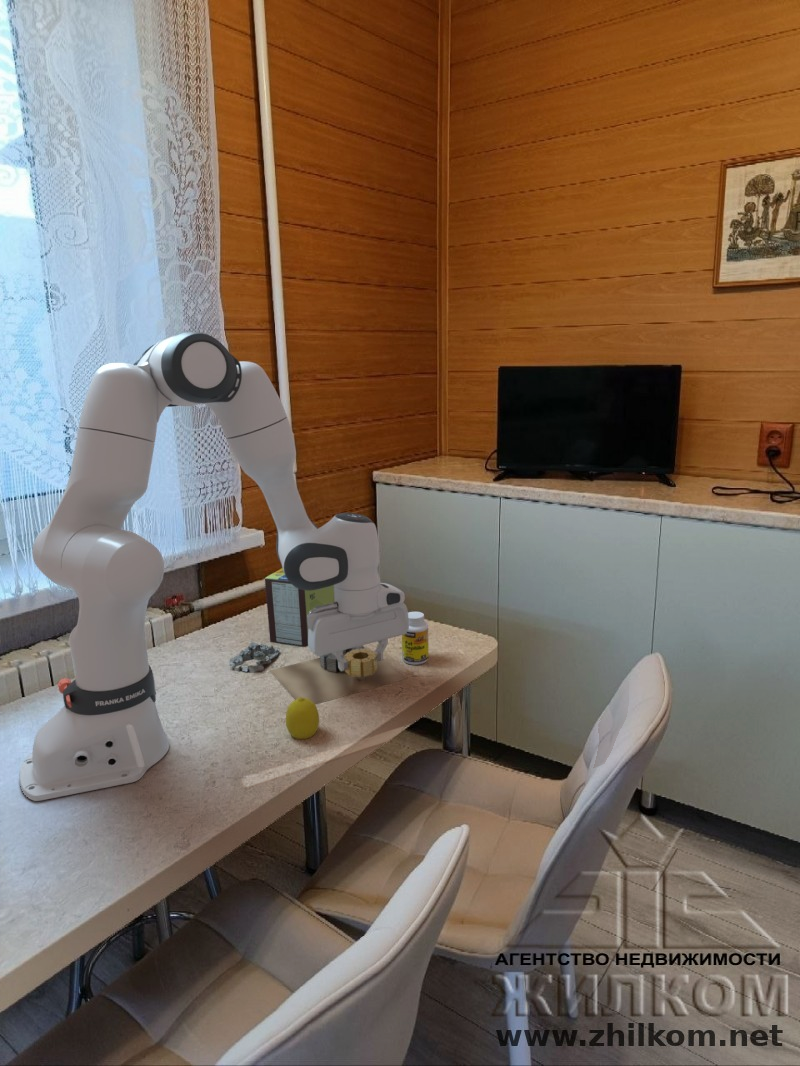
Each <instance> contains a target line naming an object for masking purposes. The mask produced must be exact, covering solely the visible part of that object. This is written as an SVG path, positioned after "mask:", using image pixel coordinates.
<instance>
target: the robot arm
mask: <svg viewBox="0 0 800 1066" xmlns="http://www.w3.org/2000/svg"><path fill="white" fill-rule="evenodd" d="M282 403H283V402H282V401H281V399H280V397H279V395H278V392H277V391H276V388H275V386H274V385H273V383H272V381H271V379H270V377H269V376H268V375H267V373H266V371H265V370H264V369H263V367H261V366H260V365H259V364H257V363H255V362H252V361H246V360H245V361H244V360H243V361H239V360H238V358H236V357H235V356H234V355H232V354H231V353H230V352H229V350H228V349H227V348H226V347H225V345H223V344H222V342H221V341H219V340H218V339H217V338H215V337H214V336H212V335H209V334H207V333H204V332H199V331H185V332H182V333H179V334H174V335H170V336H168V337H165V338H163V339H161V340H159V341H158V342H156V343H154V344H153V345H151V346H149V347H148V348H147V349H146V350H145V351H143V353H142V354H141V355H140V356H139V358H138V359H137V360H136V361H135V362H134V363H133V364H131V363H127V362H111V363H107V364H104V365H102V366H100V367H99V368H98V369H97V370H95V373H94V374H93V376H92V379H91V381H90V384H89V386H88V389H87V392H86V395H85V397H84V401H83V406H82V409H81V412H80V418H79V421H78V429H77V435H76V438H75V439H76V441H75V446H74V452H73V457H72V461H71V462H72V463H71V468H70V473H69V476H68V480H67V484H66V487H65V489H64V492H63V494H62V496H61V499H60V502H59V503H58V506H57V508H56V510H55V511H54V514H53V516H52V518H51V519H50V521H49V523H48V524H47V525H46V526H45V527H44V528H42V529H41V531H40V532H39V533H38V534H37V535H36V537H35V539H34V540H33V541H34V542H33V545H32V558H33V561H34V564H35V566H36V567H37V569H39V571H40V572H41V573H42V574H43V575H44V576H45V577H47V578H48V579H49V580H50V581H51V582H52V583H53V584H55V585H58V586H60V587H62V588H65V589H67V590H71V591H73V592H74V593H75V594H76V596H77V598H78V602H79V603H78V604H79V605H78V606H79V609H78V617H77V618H78V619H77V623H76V626H74V628H72V630H71V632H70V634H69V637H68V643H69V648H70V654H71V661H72V667H73V673H74V679H73V681H71V679H70V678H65V677H64V678H61V679H60V680H59V682H58V683H57V687H58V691H59V693H61V694H62V698H63V703H64V706H62V707H61V708H60V709H59V711H57V712H56V713H54V715H53V716H52V717H50V718H49V719H48V720H47V721H46V722H45V723H44V724H43V725H41V727H40V728H39V729H38V731H37V732H36V735H35V737H34V741H33V745H32V752H31V753H30V754H28V756H27V757H25V759H24V760H23V762H22V763H21V765H20V769H19V774H18V775H19V786H21V787H20V790H21V789H22V790H21V792H22V791H23V792H22V793H24V794H23V795H24V796H25V795H26V796H25V797H26V798H27V797H28V799H30V800H32V801H34V802H40V801H46V800H49V799H50V800H51V799H55V798H61V797H65V796H70V795H74V794H80V793H86V792H91V791H95V790H101V789H106V788H111V787H115V786H116V787H117V786H121V785H127V784H131V783H134V782H137V781H139V780H140V779H142V777H143V776H144V775H145V773H146V772H147V770H148V769H150V768H151V767H153V766H154V765H155V764H156V763H158V762H159V761H161V759H163V758H164V756H165V755H167V753H168V751H169V749H170V740H169V738H168V737H167V734H166V731H165V730H164V727H163V724H162V722H161V718H160V716H159V713H158V709H157V705H156V704H157V703H156V700H157V699H156V697H157V696H156V695H157V690H156V681H155V680H156V679H155V675H154V673H153V669H152V667H151V665H150V664H149V656H148V646H147V637H146V616H147V615H146V614H147V610H148V609H147V608H148V604H149V601H150V598H151V597H152V596H153V595H154V594H155V593H156V592H157V591H158V589H159V588H160V587H161V584H162V582H163V579H164V575H165V562H164V559H163V555H162V553H161V551H160V550H159V549H158V548H157V546H155V545H154V544H153V543H152V542H150V541H149V540H147V539H146V538H144V537H142V536H141V535H139V534H137V533H136V532H133V531H129V530H126V529H123V526H124V523H125V521H126V519H127V516H128V514H129V512H130V511H131V509H132V507H133V506H134V504H135V503H136V502H137V501H138V500H140V499H141V498H142V497H143V496H144V495H145V493H147V492H146V491H147V489H148V486H149V479H150V473H151V469H152V468H151V467H152V462H153V456H154V449H155V445H156V437H157V429H158V423H159V420H160V418H161V415H163V414H162V413H163V412H164V410H165V409H166V408H167V407H168V408H169V407H171V408H172V407H178V406H179V407H192V406H197V405H200V404H203V405H206V406H207V407H208V408H210V410H211V411H212V412H213V414H214V415H215V416H216V418H217V420H219V422H220V426H221V429H222V431H223V434H224V436H225V439H226V443H227V445H228V446H229V449H230V451H231V453H232V455H233V456H234V458H235V459H236V461H237V463H238V465H239V466H240V468H241V470H242V471H243V473H244V474H245V475H247V476H248V477H249V478H251V479H252V480H253V481H254V482H255V483H256V485H257V486H258V487H259V489H260V491H261V492H262V494H263V496H264V498H265V501H266V504H267V506H268V509H269V511H270V513H271V516H272V518H273V522H274V525H275V527H276V542H275V549H276V550H275V551H276V555H277V558H278V561H279V562H280V564H281V568H283V570H284V573H285V575H286V578H287V579H288V581H289V582H290V583H291V584H292V585H293V586H295V587H296V588H298V589H301V590H307V591H311V590H317V589H321V588H325V587H329V586H332V585H334V600H335V602H334V603H330V604H326V605H323V606H316V607H314V609H313V610H311V611H310V612H309V614H308V615H307V624H308V628H309V630H308V646H307V647H308V649H309V650H310V651H311V652H312V653H313V654H314V655H316V657H320V656H322V655H326V654H330V653H332V654H333V655H334V657H335V658H336V659H337V660H338V668H339V670H341V671H344V670H348V669H349V667H348V665H349V662H348V661H347V660H346V659H345V658H344V659H342V658H341V656H340V655H343V650H346V649H350V648H354V647H358V646H362V645H363V646H366V645H368V644H373V643H377V645H376V648H375V650H373V651H374V652H375V653H376V654H377V662H378V661H381V660H383V659H384V652H385V650H386V648H387V646H388V644H389V641H388V640H389V639H392V638H396V637H402V635H405V634H406V633H407V631H408V629H409V617H408V613H409V611H408V607H407V605H406V603H404V602H405V600H406V596H405V595H406V594H405V593H404V591H403V590H401V589H400V588H398V587H396V586H394V585H392V584H390V583H386V582H382V581H381V577H380V574H379V565H380V560H381V559H380V546H379V545H380V544H379V536H378V531H377V527H376V524H375V523H374V521H372V519H370V518H369V517H367V516H366V515H364V514H359V513H354V512H341V513H340V512H339V513H337V514H335V515H334V516H333V517H332V518H331V519H330V520H329V521H328V522H326V523H325V524H323V525H322V526H320V527H318V526H317V525H316V523H314V522H313V521H312V520H311V519H310V517H309V515H308V514H307V512H306V511H307V510H306V508H305V506H304V502H303V501H302V500H303V499H301V495H300V493H299V490H298V487H297V484H296V481H295V475H294V465H295V461H296V456H297V451H296V444H295V439H294V435H293V431H292V427H291V424H290V421H289V418H288V416H287V413H286V410H285V408H284V405H283V404H282ZM312 612H313V613H312Z"/></svg>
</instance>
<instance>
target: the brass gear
mask: <svg viewBox="0 0 800 1066" xmlns="http://www.w3.org/2000/svg"><path fill="white" fill-rule="evenodd" d="M344 658H345V659H346V660H347V661H348V662H349V665H348V667H349V669H348V670H345V672H346V673H347V674H348V675H351V676H354V677H361V676H363V677H366V676H369V675H373V673H375V672H376V670H377V654H376V653H375V652H374V650H373V649H371V651H370V650H368V649H360V650H359V649H356V650H352V651H349V652H347V654H346V655H345V656H344Z"/></svg>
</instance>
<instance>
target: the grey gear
mask: <svg viewBox="0 0 800 1066" xmlns="http://www.w3.org/2000/svg"><path fill="white" fill-rule="evenodd" d="M364 647H365V645H362V646H358V647H354V648H350V649H346V650H345V651H346V653H345V654H343V655H340V656H341V658H342V659H344V656H345V655H346V654H347V652H349V651H352V650H356V649H359V650H360V649H365V648H364ZM319 658H320V666H321V667H322V668H323V669H327V671H332V672H337V671H338V670H339V668H338V660H337V659H336V658H335V657H334V655H333V654H332V653H330V654H326V655H322V656H319ZM340 672H345V670H344V671H341V670H340Z"/></svg>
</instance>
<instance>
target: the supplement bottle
mask: <svg viewBox="0 0 800 1066" xmlns="http://www.w3.org/2000/svg"><path fill="white" fill-rule="evenodd" d="M408 617H409V629H408V631H407V633H406V634H405V635H401V649H402V651H401V652H402V653H401V656H402V661H403V662H404V663H406V664H408V665H412V666H414V665H415V666H418V665H422V664H425V663H426V662H428V660H429V656H430V655H429V654H430V653H429V624H428V622H427V621H425V614H424V613H423V612H421V611H408Z"/></svg>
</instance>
